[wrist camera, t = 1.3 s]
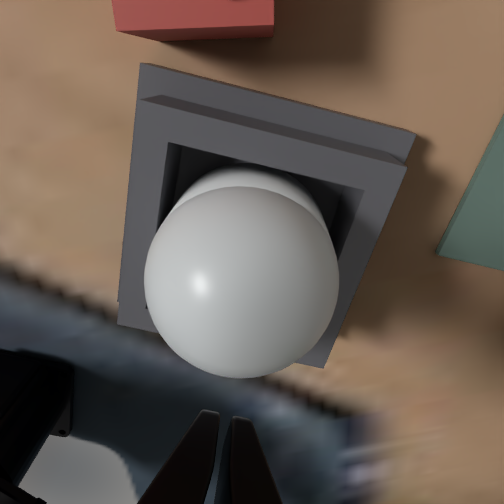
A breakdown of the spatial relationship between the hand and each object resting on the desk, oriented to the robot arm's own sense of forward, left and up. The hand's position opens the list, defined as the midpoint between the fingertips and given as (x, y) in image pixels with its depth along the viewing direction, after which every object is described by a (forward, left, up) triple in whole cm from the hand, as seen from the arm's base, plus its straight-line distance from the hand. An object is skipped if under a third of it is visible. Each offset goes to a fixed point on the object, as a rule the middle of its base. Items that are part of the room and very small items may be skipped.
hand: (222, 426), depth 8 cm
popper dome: (0, 0, -10) cm, 10 cm away
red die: (+10, +4, -13) cm, 17 cm away
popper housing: (0, 0, -13) cm, 13 cm away
